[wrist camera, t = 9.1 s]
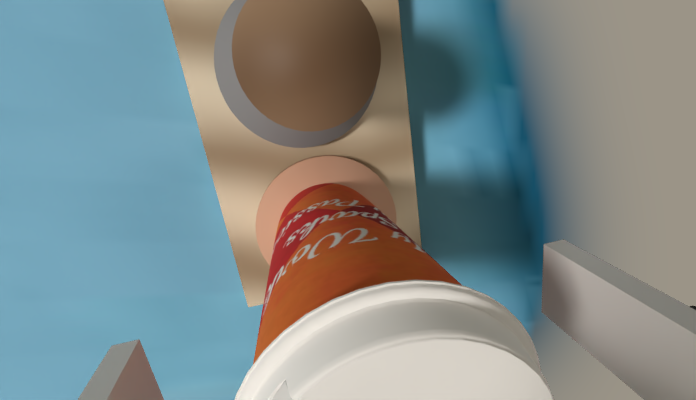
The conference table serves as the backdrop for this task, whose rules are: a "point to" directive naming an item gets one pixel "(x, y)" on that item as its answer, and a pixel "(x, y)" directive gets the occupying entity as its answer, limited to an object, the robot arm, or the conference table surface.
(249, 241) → the board
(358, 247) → the paper cup
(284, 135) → the grey pad
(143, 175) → the conference table surface
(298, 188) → the terracotta pad
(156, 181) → the conference table surface
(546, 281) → the robot arm
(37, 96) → the conference table surface
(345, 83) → the brown short cylinder
